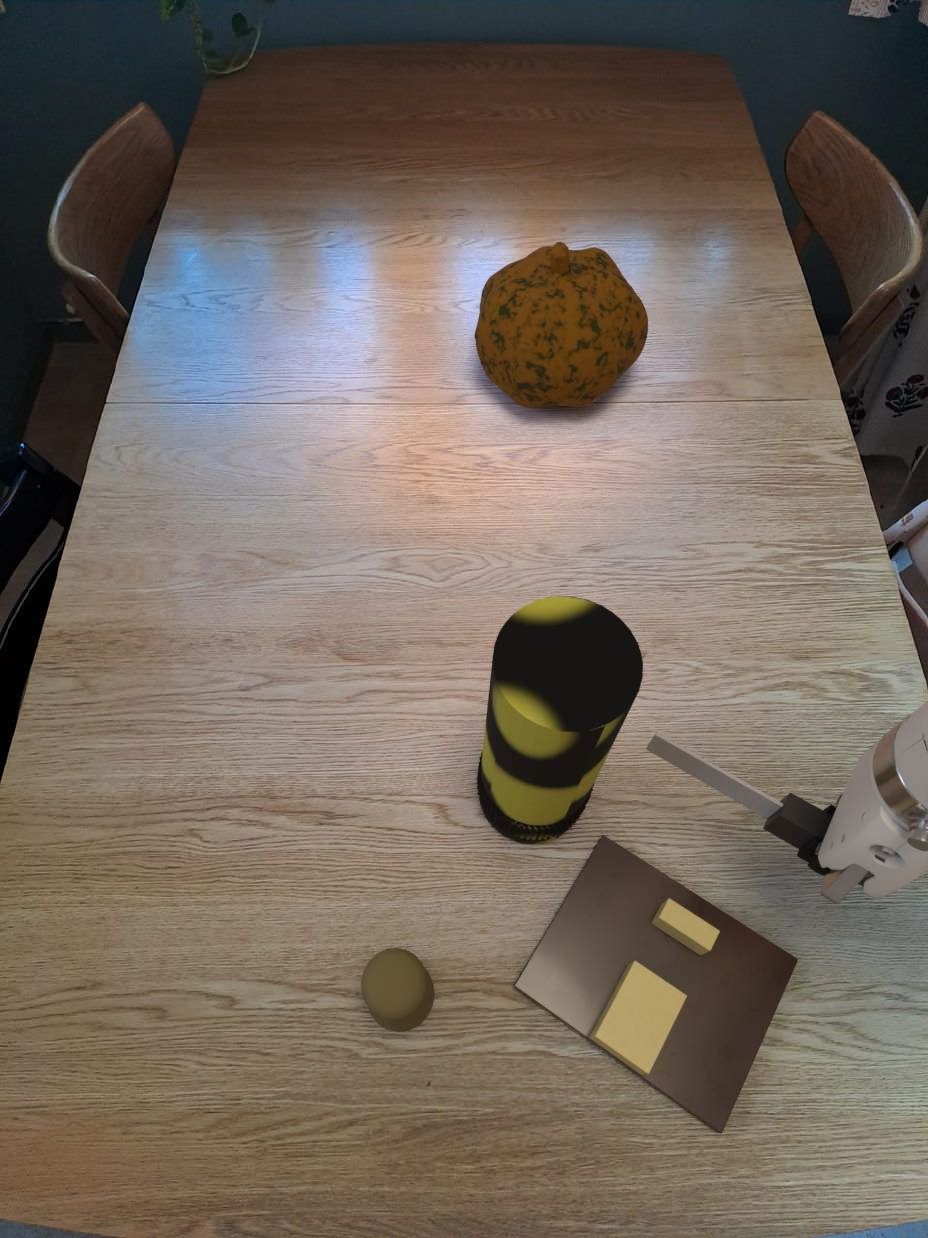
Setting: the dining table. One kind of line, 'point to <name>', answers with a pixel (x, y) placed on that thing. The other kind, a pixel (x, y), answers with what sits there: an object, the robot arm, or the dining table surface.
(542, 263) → the decorative pumpkin
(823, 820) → the knife
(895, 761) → the robot arm
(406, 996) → the cork
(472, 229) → the dining table surface
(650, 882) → the cutting board
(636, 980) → the butter stick
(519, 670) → the container
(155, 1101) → the dining table surface
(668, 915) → the butter slice
